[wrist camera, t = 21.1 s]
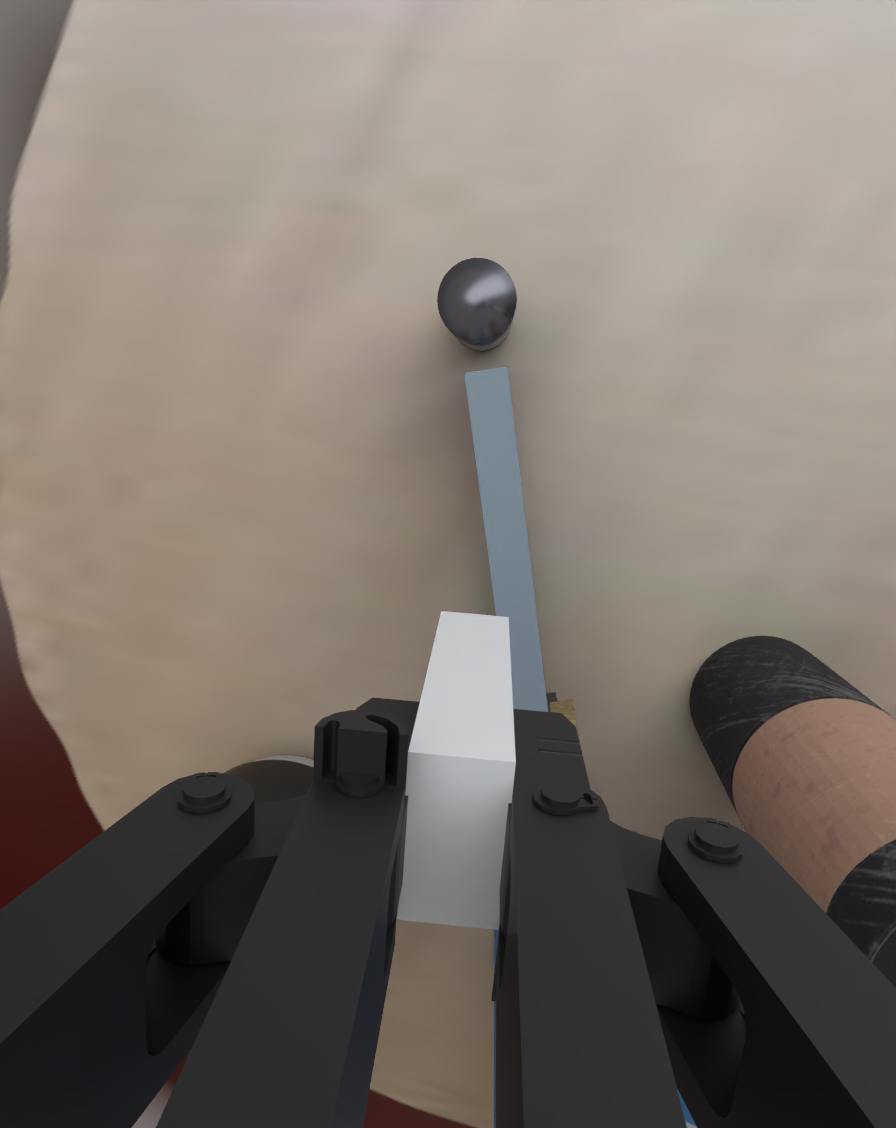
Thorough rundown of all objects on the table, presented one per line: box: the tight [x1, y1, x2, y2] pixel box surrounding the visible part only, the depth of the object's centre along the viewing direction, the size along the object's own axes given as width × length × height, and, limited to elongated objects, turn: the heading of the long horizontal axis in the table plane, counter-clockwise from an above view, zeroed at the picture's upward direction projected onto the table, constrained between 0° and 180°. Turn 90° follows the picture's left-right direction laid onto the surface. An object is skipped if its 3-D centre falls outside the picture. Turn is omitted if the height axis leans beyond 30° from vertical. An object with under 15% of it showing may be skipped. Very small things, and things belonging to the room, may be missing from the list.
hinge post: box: [437, 258, 517, 351], centre depth 32 cm, size 3×3×10 cm
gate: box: [464, 367, 548, 712], centre depth 34 cm, size 2×17×9 cm, turn 8°
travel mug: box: [690, 636, 896, 987], centre depth 31 cm, size 8×8×20 cm
